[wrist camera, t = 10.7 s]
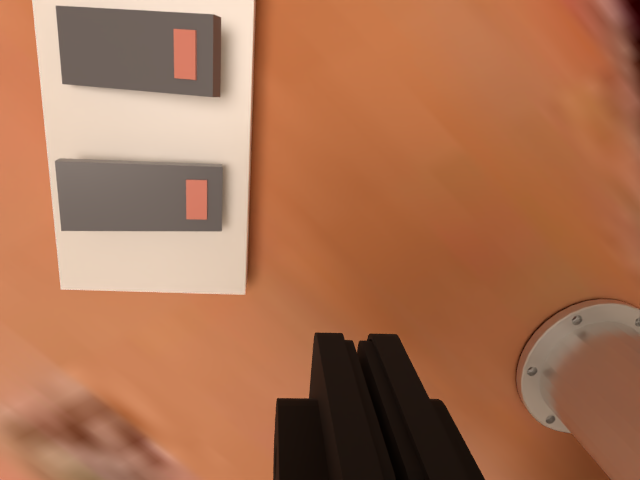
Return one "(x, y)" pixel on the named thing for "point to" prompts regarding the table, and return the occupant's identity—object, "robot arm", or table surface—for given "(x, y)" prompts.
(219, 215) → the rocker
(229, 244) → the rocker switch panel
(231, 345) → the table surface
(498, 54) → the table surface
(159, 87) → the rocker
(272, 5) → the table surface
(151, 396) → the table surface
